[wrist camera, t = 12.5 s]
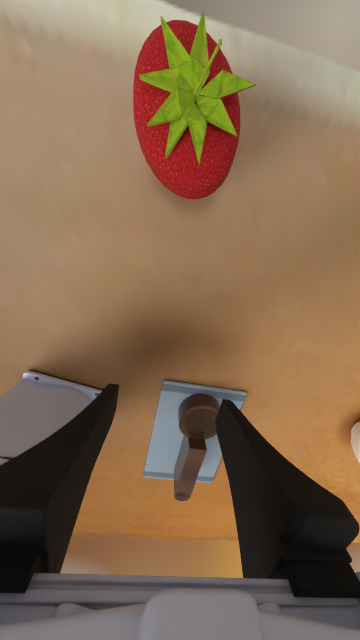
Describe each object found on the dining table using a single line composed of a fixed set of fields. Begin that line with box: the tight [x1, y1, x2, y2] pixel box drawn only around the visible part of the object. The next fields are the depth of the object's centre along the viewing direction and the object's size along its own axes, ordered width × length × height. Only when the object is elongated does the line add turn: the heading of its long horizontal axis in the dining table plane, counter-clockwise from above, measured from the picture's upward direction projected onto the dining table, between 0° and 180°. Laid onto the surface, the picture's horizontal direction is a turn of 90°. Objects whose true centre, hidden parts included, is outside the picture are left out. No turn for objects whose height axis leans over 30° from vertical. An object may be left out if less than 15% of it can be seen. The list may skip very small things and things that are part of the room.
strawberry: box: [133, 13, 256, 199], centre depth 11 cm, size 6×8×10 cm
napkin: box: [143, 380, 247, 483], centre depth 26 cm, size 11×18×1 cm, turn 168°
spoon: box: [174, 394, 220, 501], centre depth 25 cm, size 15×6×3 cm, turn 168°
